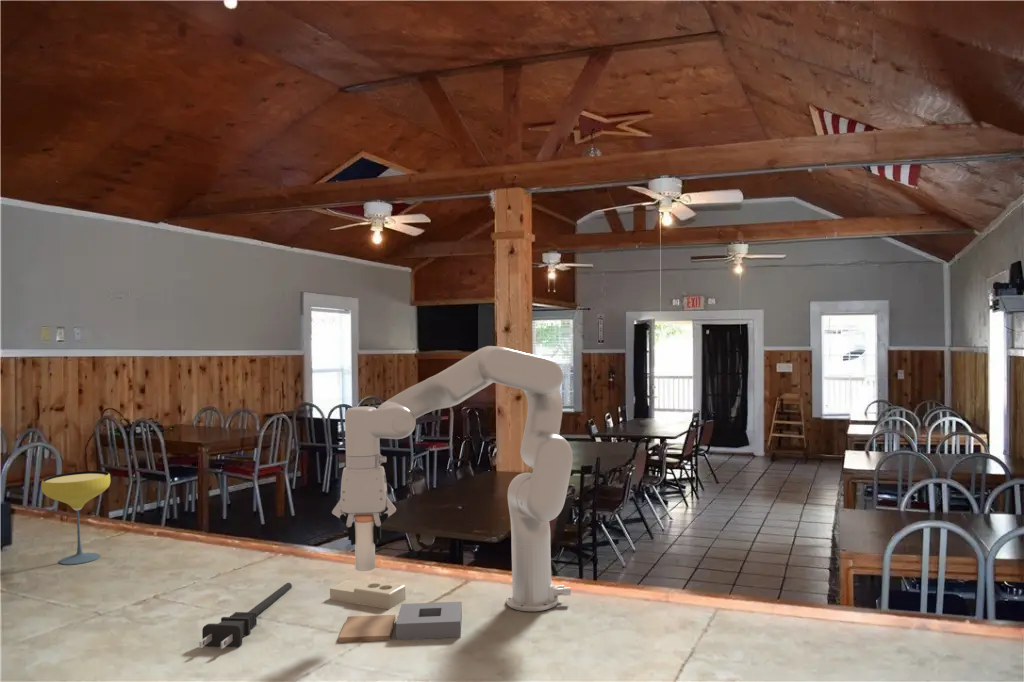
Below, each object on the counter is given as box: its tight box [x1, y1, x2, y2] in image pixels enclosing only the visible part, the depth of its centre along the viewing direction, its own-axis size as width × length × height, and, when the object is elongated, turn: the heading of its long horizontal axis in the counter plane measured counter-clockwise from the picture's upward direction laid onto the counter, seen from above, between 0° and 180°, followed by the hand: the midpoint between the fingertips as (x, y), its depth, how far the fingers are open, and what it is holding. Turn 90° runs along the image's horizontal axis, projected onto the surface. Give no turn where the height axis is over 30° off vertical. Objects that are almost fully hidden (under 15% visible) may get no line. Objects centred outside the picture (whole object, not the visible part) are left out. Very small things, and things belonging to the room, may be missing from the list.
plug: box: [354, 513, 376, 572], centre depth 177 cm, size 4×4×12 cm
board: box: [338, 614, 396, 643], centre depth 178 cm, size 11×12×1 cm
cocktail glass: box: [41, 470, 111, 566], centre depth 236 cm, size 18×18×25 cm
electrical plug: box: [198, 582, 293, 650], centre depth 187 cm, size 9×42×5 cm, turn 173°
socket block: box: [395, 601, 463, 641], centre depth 178 cm, size 14×12×4 cm
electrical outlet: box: [329, 579, 407, 610], centre depth 197 cm, size 7×4×18 cm
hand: (364, 542), depth 177 cm, fingers closed on plug, 4 cm apart
